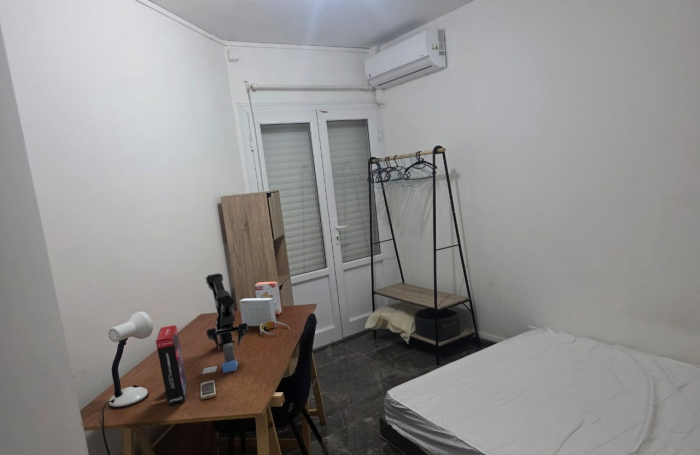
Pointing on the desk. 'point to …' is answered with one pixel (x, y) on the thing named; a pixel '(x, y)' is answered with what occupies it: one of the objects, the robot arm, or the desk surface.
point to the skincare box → (257, 311)
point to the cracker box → (269, 293)
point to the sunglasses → (269, 326)
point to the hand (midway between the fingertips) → (228, 347)
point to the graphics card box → (171, 364)
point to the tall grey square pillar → (228, 352)
